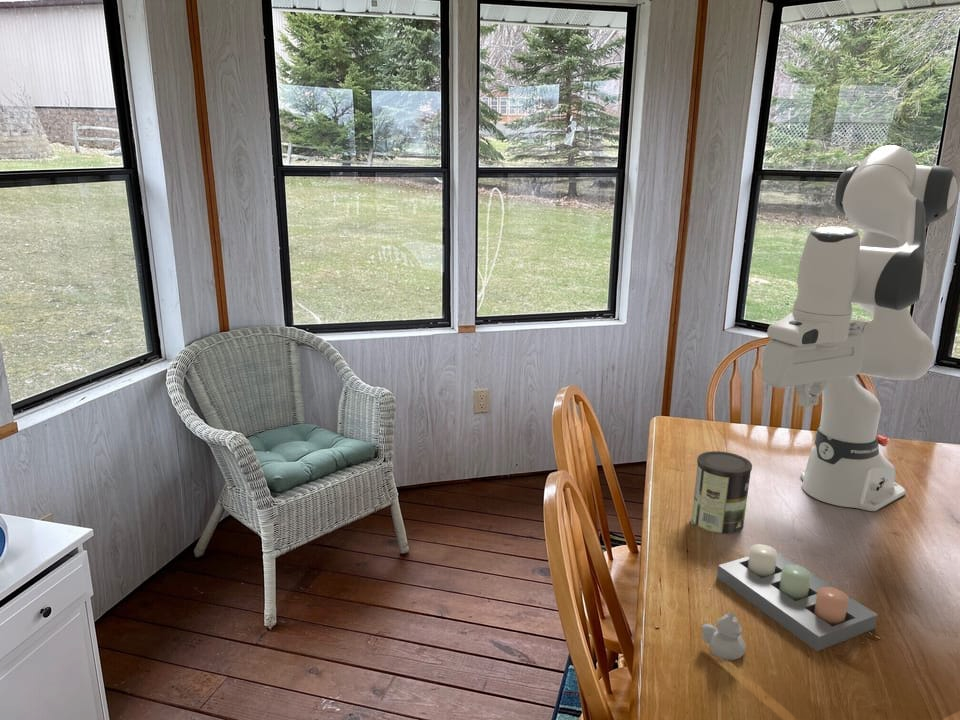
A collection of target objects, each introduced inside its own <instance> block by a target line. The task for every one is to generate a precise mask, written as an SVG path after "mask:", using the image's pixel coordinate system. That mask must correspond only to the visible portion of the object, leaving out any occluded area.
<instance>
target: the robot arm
mask: <svg viewBox="0 0 960 720" xmlns="http://www.w3.org/2000/svg"><path fill="white" fill-rule="evenodd" d="M957 182H958V181H957V179H956V174H955V172H954V171H953V170H952V169H951V168H949V167H946V166H941V165H935V164H934V165H932V166H930V165H929V166H928V165H922V164H917V161H916V158H915V156H914V155H913V154H912V153H911V152H910V151H909V150H908V149H906V148H904V147H902V146H899V145H891V144H890V145H884V146H881V147H878V148H876V149H874V150H873V151H871V152H870V153H869V154H868V155H867V156H866V157H865V158H864V159H863V160H862V162H860V164H859V165H855V166H852V167H849V168H847V169H846V170H844V171H843V172H842V173H841V174H840V175H839V177H838V180H837V182H836V184H835V187H834V195H833V196H834V197H833V198H834V203H835V207H836V209H837V210H838V212H839V213H840V214H842V215H845V216H846V217H847V219H848V221H850V223H852V225H854V226H855V227H857V228H859V229H860V230H863V231H864V233H863V235H862V238H861V236H860V233H859V232H858V231H857V230H855V229H852V228H849V227H846V226H836V225H835V226H824V227H823V226H821V227H820V226H819V227H817V228H815V229H812V230H811V231H810V232H809V233H808V235H807V238H806V241H805V244H804V247H803V251H802V255H801V258H800V261H799V264H798V265H799V266H798V273H797V279H796V280H797V281H796V282H797V290H798V291H797V296H796V298H795V301H794V303H793V307H792V312H791V313H789V314H787V315H786V316H784V317H783V318H781V319H779V320H777V321H775V322H773V323H771V324H770V325H769V326H768V328H767V331H766V333H767V334H766V335H767V337H768V338H770V340H769V341H768V342H767V344H766V345H765V348H764V352H763V358H762V365H761V372H760V373H761V374H760V375H761V379H762V382H763V383H764V384H765V385H767V386H769V387H772V388H776V389H784V388H789V387H790V388H791V387H795V389H796V392H797V395H798V397H797V404H798V406H800V407H803V408H808V407H812V406H816V405H819V400H820V397H821V396H822V398H821V399H822V401H821V403H822V404H821V415H820V423H819V426H818V428H817V429H816V432H815V438H814V445H813V446H812V447H811V449H810V452H809V456H808V459H807V463H806V466H805V471H802V472H801V473H800V478H801V480H802V483H801V488H802V490H803V491H804V492H805V493H806V494H807V495H809V496H810V497H812V498H814V499H815V500H818V501H821V502H823V503H827V504H829V505H835V506H838V507H843V508H845V507H846V508H853V509H855V508H856V509H860V510H864V511H869V512H876V511H878V510H880V509H881V508H883V507H885V506H887V505H888V504H890V503H892V502H894V501H895V500H897V499H899V498H901V497H903V496H905V494H906V489H905V488H904V487H903V486H902V485H900V484H899V483H897V482H895V479H896V468H895V466H894V465H893V464H892V463H891V462H890V460H888V459H887V458H886V457H884V455H882V454H881V453H880V447H879V445H880V446H881V447H886V446H887V445H888V444H889V438H888V437H886V436H882V435H880V434H878V435H877V433H878V432H877V431H878V427H879V422H880V417H881V412H882V407H881V403H880V401H879V399H878V398H877V396H876V395H874V394H873V393H872V392H870V391H869V390H868V389H866V388H864V386H862V385H861V384H860V383H859V381H858V380H857V379H856V376H858V375H864V376H870V377H876V378H879V379H887V380H890V381H891V380H897V381H898V380H899V381H900V380H901V381H903V380H904V381H905V380H909V381H910V380H911V381H912V380H914V381H915V380H918V379H920V378H922V377H923V376H924V375H925V374H926V373H927V372H928V371H929V370H930V369H931V367H932V365H933V362H934V358H935V348H934V345H933V342H932V340H931V339H930V337H929V336H928V335H927V334H926V333H925V332H924V331H923V330H921V328H920V327H919V326H918V325H917V324H916V322H915V320H914V319H913V317H912V315H911V313H910V309H909V307H910V306H912V305H914V304H915V303H918V301H920V298H921V297H922V296H923V294H924V291H925V289H926V287H927V286H926V285H927V281H928V268H927V267H928V266H927V262H926V260H925V254H926V253H925V251H926V231H927V230H926V229H927V228H929V227H930V226H931V223H934V222H937V221H939V220H940V219H941V218H942V217H944V216H945V215H946V214H948V212H949V210H950V208H952V206H953V204H954V203H955V200H956V198H957V194H958V183H957ZM852 303H854V304H856V305H857V306H858V307H860V308H862V309H863V310H865V311H867V312H868V313H870V315H872V317H873V318H872V320H871V321H861V320H854V319H852V316H853V305H852Z"/></svg>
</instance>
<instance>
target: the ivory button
mask: <svg viewBox="0 0 960 720" xmlns="http://www.w3.org/2000/svg"><path fill="white" fill-rule="evenodd" d="M749 548H750V549H749V555H748V556H749V561H748V569H749V570H750V571H752V572H753V573H755V574H756V575H758V576H759V577H761V578H765V577H768V576H771V575H774V573H775V567H776V560H777V552H778V551H777V550H776V549H775V548H774V547H772V546H770V545H767V544H761V543H757V544H755V543H754V544H753V545H751V546H750V547H749Z"/></svg>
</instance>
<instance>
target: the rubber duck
mask: <svg viewBox="0 0 960 720" xmlns="http://www.w3.org/2000/svg"><path fill="white" fill-rule="evenodd" d="M734 613H735V611H734V610H732V611H730V612H728V613H727V614H726V613H725V614H724V615H722V616H721V617H719V619H718V620H717V621H716V624H715V625H716V626H714V625H712V624H710V623H704V624H703V625H702V626H701V631H702V637H701V638H702V641H703V642H704V643H707V644H708V645H709V648H710V652H711V653H712V655H713V656H715V657H717V658H719V659H721V660H724V661H727V662H729V661H730V660H731V661H733V660H738V659H740V658H742V656H743V655H744V654H745V652H746V649H747V648H746V647H747V646H746V643H745V640H744V638H743V636H742V635H741V634H743V629H742V628H743V627H741V625H740V623H739V620H738V617H736V616H735V614H734Z"/></svg>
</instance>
